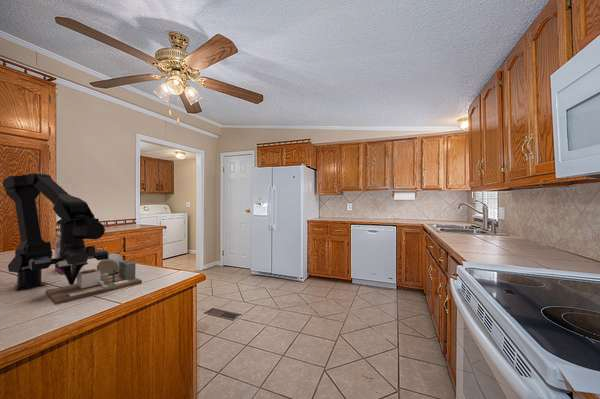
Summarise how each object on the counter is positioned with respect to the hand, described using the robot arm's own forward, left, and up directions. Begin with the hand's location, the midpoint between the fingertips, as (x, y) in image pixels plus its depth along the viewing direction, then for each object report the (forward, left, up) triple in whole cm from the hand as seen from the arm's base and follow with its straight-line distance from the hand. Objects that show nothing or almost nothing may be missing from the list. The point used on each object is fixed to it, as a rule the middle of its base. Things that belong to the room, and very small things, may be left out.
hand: (71, 284), depth 81 cm
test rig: (+2, +6, -3) cm, 7 cm away
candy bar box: (-32, +5, -3) cm, 32 cm away
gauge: (+2, +6, -1) cm, 6 cm away
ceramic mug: (-14, +16, -3) cm, 22 cm away
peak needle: (+6, +10, 0) cm, 12 cm away
